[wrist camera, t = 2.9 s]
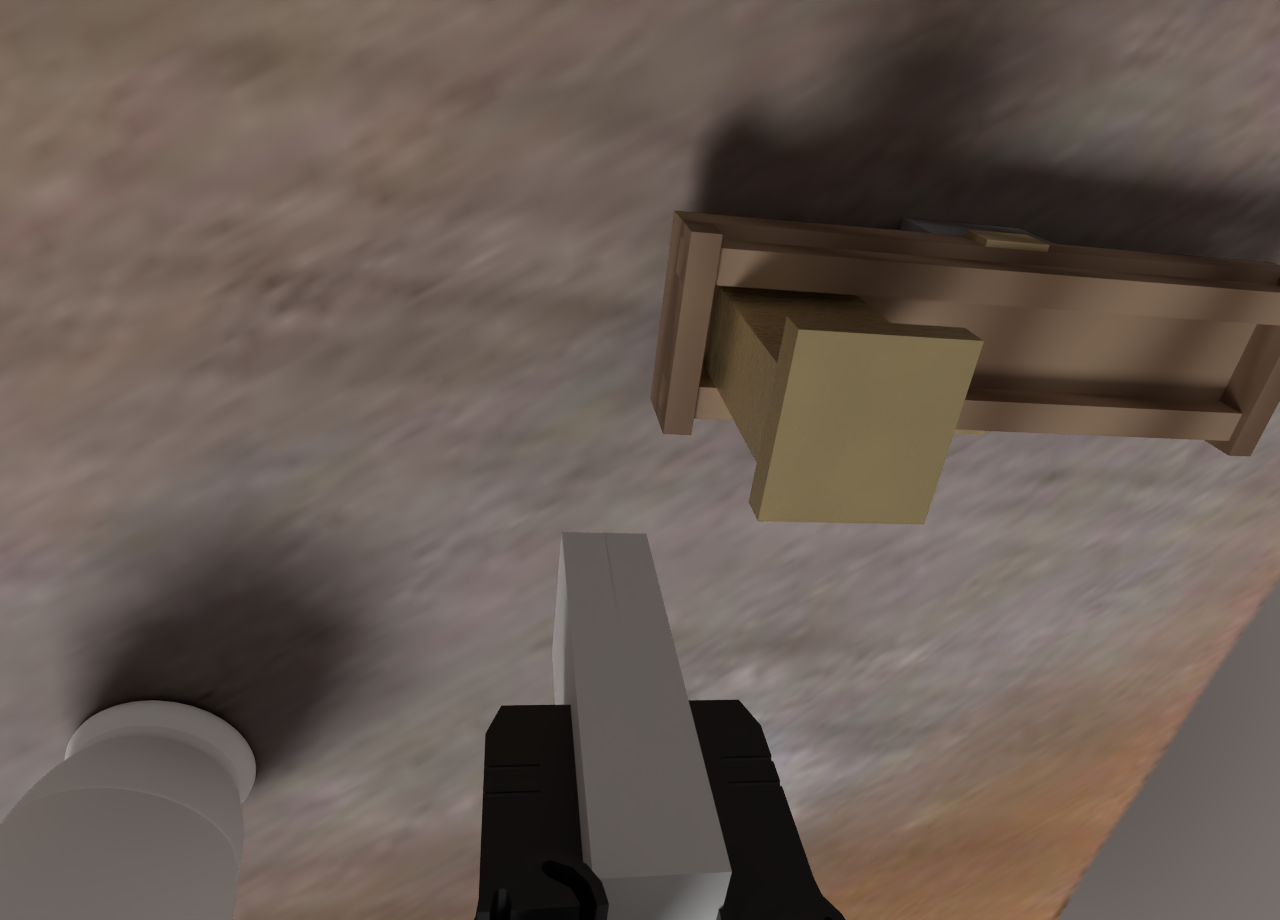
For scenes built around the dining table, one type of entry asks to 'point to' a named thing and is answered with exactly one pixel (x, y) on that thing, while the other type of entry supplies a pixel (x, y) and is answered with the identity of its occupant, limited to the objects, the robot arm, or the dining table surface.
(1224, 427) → the brown long rectangular frame
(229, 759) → the jar
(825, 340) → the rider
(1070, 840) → the dining table surface
